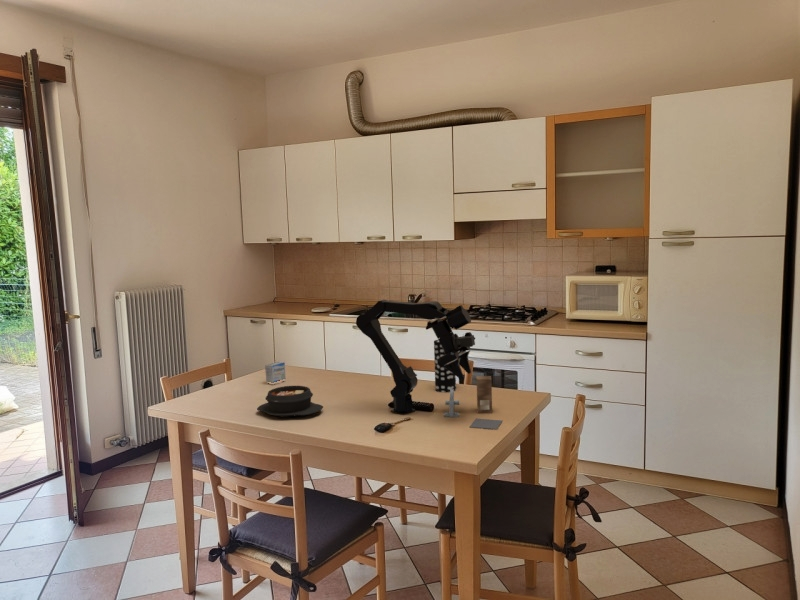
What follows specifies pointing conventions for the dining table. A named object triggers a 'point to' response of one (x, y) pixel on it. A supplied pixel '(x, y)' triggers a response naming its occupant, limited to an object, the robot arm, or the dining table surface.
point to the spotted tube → (442, 372)
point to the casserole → (290, 402)
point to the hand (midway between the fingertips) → (466, 376)
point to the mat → (486, 423)
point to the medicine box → (275, 372)
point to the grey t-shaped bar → (451, 405)
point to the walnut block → (484, 394)
